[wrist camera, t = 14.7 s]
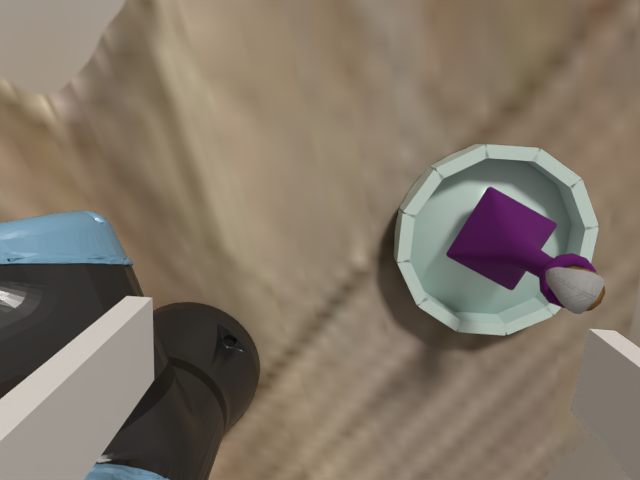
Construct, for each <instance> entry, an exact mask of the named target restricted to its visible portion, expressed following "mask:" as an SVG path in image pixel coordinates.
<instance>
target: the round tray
mask: <svg viewBox="0 0 640 480" xmlns="http://www.w3.org/2000/svg"><path fill="white" fill-rule="evenodd" d="M580 179H581V178H580V177H579V176H578V175H576V174H575V173H573V172H572V171H571V170H569V169H568V168H567V167H565V166H564V165H563V164H561V163H560V162H559V161H557V160H556V159H554V158H553V157H552V156H550V155H549V154H548V153H546V152H545V151H544V150H542V149H539V148H533V147H519V146H505V145H491V144H475V145H473V146H471V147H469V148H466V149H463V150H460V151H457V152H455V153H453V154H450V155H448V156H446V157H445V158H443V159H441V160H439V161H438V162H436V163H435V164H433V165H431V166H430V168H427V170H426V171H425V172H424V173H423V174H422V175H421V176H420V177H419V178H418V179H417V181H416V182H415V183H414V184H413V185H412V187H411V188H410V190H409V192H408V193H407V195H406V196H405V198H404V200H403V203H402V204H401V206H400V209H399V210H398V216H397V220H396V225H395V233H394V245H395V246H394V258H395V260H396V262H397V265H398V267H399V269H400V271H401V273H402V275H403V277H404V279H405V282H406V284H407V286H408V288H409V290H410V292H411V294H412V296H413V298H414V300H415V302H416V304H417V305H418V307H419V308H421V309H423V310H424V311H426V312H427V313H429V314H430V315H432V316H433V317H435V318H436V319H438V320H439V321H441V322H442V323H444V324H445V325H447V326H448V327H450V328H451V329H453V330H455V331H458V332H463V333H476V334H490V335H504V336H505V333H506V334H507V335H509V334H511V333H514V332H516V331H519V330H521V329H523V328H526V327H528V326H530V325H533V324H535V323H538V322H540V321H542V320H545V319H547V318H550V317H552V313H553V314H554V315H555V314H556V313H557V311H558V310H559V309H560V308H561V307H560V306H557V305H554V304H551V303H549V302H548V301H547V300H546V298H545V297H544V296H543V294H542V293H541V292H540V285H539V278H538V277H537V276H535V275H533V274H531V273H529V272H527V271H526V273H525V274H524V275H523V277H522V278H521V280H520V281H519V283H518V284H517V286H516V287H515V289H514V290H508V289H507V288H505V287H503V286H501V285H499V284H497V283H495V282H494V281H492V280H490V279H488V278H486V277H484V276H482V275H481V274H479V273H477V272H475V271H473V270H471V269H469V268H468V267H466V266H464V265H462V264H460V263H458V262H456V261H454V260H453V259H451V258H449V257H447V255H446V254H447V251H448V250H449V248H450V246H451V245H452V243H453V242H454V240H455V239H456V237H457V235H458V234H459V232H460V231H461V229H462V227H463V226H464V224H465V223H466V221H467V220H468V218H469V216H470V215H471V213H472V212H473V210H474V208H475V207H476V205H477V204H478V202H479V200H480V199H481V197H482V196H483V194H484V193H485V191H486V189H487V188H488V187H493V188H495V189H496V190H498V191H500V192H502V193H504V194H505V195H507V196H509V197H511V198H512V199H514V200H516V201H518V202H520V203H521V204H523V205H525V206H527V207H529V208H530V209H532V210H534V211H536V212H537V213H539V214H541V215H543V216H545V217H546V218H548V219H550V220H552V221H554V222H555V223H556V224H557V227H556V229H555V230H554V231H553V233H552V234H551V236H550V237H549V239H548V240H547V242H546V243H545V245H544V246H543V248H542V249H541V250H542V251H543V252H545V253H546V254H548V255H549V256H551V257H553V258H555V257H556V256H559V255H564V254H569V253H573V254H576V255H579V256H582V257H585V258H587V259H588V261H589V262H590V263H591V260H592V256H593V251H594V247H595V242H596V238H597V233H598V229H599V228H598V227H596V226H598V222H597V219H596V217H595V214H594V211H593V208H592V205H591V203H590V200H589V197H588V194H587V191H586V188H585V186H584V183H583V180H580Z"/></svg>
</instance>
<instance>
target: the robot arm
mask: <svg viewBox="0 0 640 480" xmlns="http://www.w3.org/2000/svg"><path fill="white" fill-rule="evenodd" d="M132 265H133V262H132V260H131V259H129V258H127V256H126V254H125V252H124V250H123V248H122V246H121V244H120V242H119V240H118V238H117V235H116V233H115V231H114V229H113V227H112V225H111V224H110V223H109V221H108V220H107V219H106V218H104V217H103V216H101V215H100V214H97V213H95V212H90V211H72V212H64V213H57V214H50V215H44V216H38V217H32V218H26V219H21V220H15V221H10V222H4V223H0V480H208V478H209V475H210V472H211V469H212V466H213V463H214V461H215V458H216V455H217V452H218V449H219V446H220V443H221V440H222V437H223V435H224V434H225V433H226V432H227V431H228V430H229V429H230V427H231V426H232V425H233V424H234V423H235V422H236V421H237V420H239V419H240V418H241V417H242V415H243V414H244V413H245V412H246V410H247V409H248V407H249V406H250V404H251V402H252V400H253V397H254V395H255V391H256V388H257V384H258V381H259V375H260V362H259V356H258V352H257V349H256V347H255V344H254V342H253V340H252V338H251V337H250V335H249V334H248V332H247V331H246V330H245V329H244V327H243V326H242V325H241V324H240V323H239V322H238V321H236V320H235V319H234V318H233V317H231V316H230V315H228V314H227V313H225V312H223V311H221V310H219V309H217V308H214V307H212V306H209V305H205V304H200V303H192V302H182V303H174V304H169V305H166V306H163V307H160V308H158V309H156V310H154V311H153V303H152V298H150V297H144V295H143V293H142V290H141V288H140V285H139V283H138V280H137V278H136V275H135V273H134V271H133V268H132ZM571 411H572V412H573V413H574V414H575V415H576V416H577V418H578V419H579V420H580V421H581V422H582V423H583V425H584V426H585V427H586V428H587V429H588V430H589V432H590V433H591V434H592V435H593V436H594V437H595V438H596V440H597V441H598V442H599V443H600V444H601V445H602V447H604V449H605V450H606V451H607V452H608V453H609V455H610V456H611V457H612V458H613V459H614V461H615V462H616V463H617V464H618V465H619V466H620V467H621V469H622V470H623V471H624V472H625V473H626V474H627V475H628V477H629V478H630V479H631V480H640V348H639V347H637V346H636V345H634V344H633V343H632V342H630V341H629V340H627V339H626V338H625V337H623V336H622V335H620V334H619V333H617V332H616V331H611V330H597V329H589V333H588V337H587V342H586V346H585V350H584V355H583V359H582V363H581V368H580V372H579V377H578V381H577V385H576V390H575V394H574V398H573V403H572V407H571Z"/></svg>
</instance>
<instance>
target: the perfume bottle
mask: <svg viewBox="0 0 640 480" xmlns="http://www.w3.org/2000/svg"><path fill="white" fill-rule="evenodd" d="M556 227H557V224H556V223H555V222H554V221H552V220H550V219H548V218H546V217H545V216H543V215H541V214H539V213H537V212H536V211H534V210H532V209H530V208H529V207H527V206H525V205H523V204H521V203H520V202H518V201H516V200H514V199H512V198H511V197H509V196H507V195H505V194H504V193H502V192H500V191H498V190H496V189H495V188H493V187H488V188H487V189H486V191H485V193H484V194H483V196H482V197H481V199H480V200H479V202H478V204H477V205H476V207H475V208H474V210H473V212H472V213H471V215H470V216H469V218H468V220H467V221H466V223H465V224H464V226H463V227H462V229H461V231H460V232H459V234H458V235H457V237H456V239H455V240H454V242H453V243H452V245H451V246H450V248H449V250H448V251H447V254H446V255H447V257H449V258H451V259H453V260H454V261H456V262H458V263H460V264H462V265H464V266H466V267H468V268H469V269H471V270H473V271H475V272H477V273H479V274H481V275H482V276H484V277H486V278H488V279H490V280H492V281H494V282H495V283H497V284H499V285H501V286H503V287H505V288H507V289H508V290H514V289H515V287H516V286H517V284H518V283H519V281H520V280H521V278H522V277H523V275H524V274H525V273H526V271H527V272H529V273H531V274H533V275H535V276H537V277H538V278H539V285H540V292H541V293H542V294H543V296H544V297H545V298H546V300H547V301H548V302H549V303H551V304H554V305H557V306H560V307H563V308H566V309H568V310H569V311H571V312H573V313H575V314H581V313H583V312H584V311H589V310H592V309H594V308H595V307H596V306H598V305H599V304H600V303H601V302H602V299H603V297H604V295H605V287H604V282H605V281H604V280H603V278H602V277H600V276H599V275H598V274H597V273H596V270H595V269H594V267H593V266H592V265H591V263H590V262H589V261H588V259H587V258H585V257H582V256H579V255H576V254H573V253H569V254H564V255H559V256H556V257H555V258H553V257H551V256H549V255H548V254H546V253H545V252H543V251H542V250H541V249H542V248H543V246H544V245H545V243H546V242H547V240H548V239H549V237H550V236H551V234H552V233H553V231H554V230H555V229H556Z"/></svg>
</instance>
